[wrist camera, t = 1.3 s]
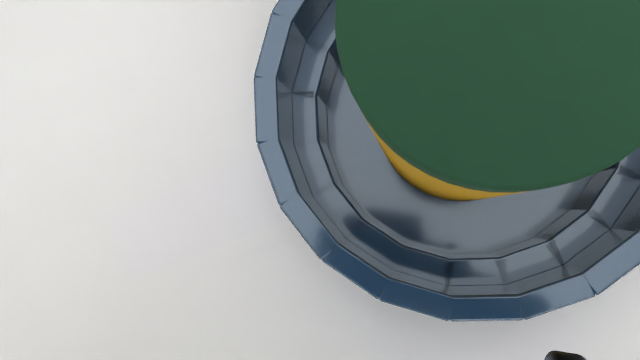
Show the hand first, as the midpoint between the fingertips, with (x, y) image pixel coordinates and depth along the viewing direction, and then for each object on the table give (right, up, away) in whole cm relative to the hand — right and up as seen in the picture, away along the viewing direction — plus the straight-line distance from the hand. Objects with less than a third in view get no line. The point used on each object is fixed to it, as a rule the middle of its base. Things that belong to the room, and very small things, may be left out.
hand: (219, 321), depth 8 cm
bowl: (+6, +4, +13) cm, 15 cm away
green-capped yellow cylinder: (+6, +4, +12) cm, 14 cm away
